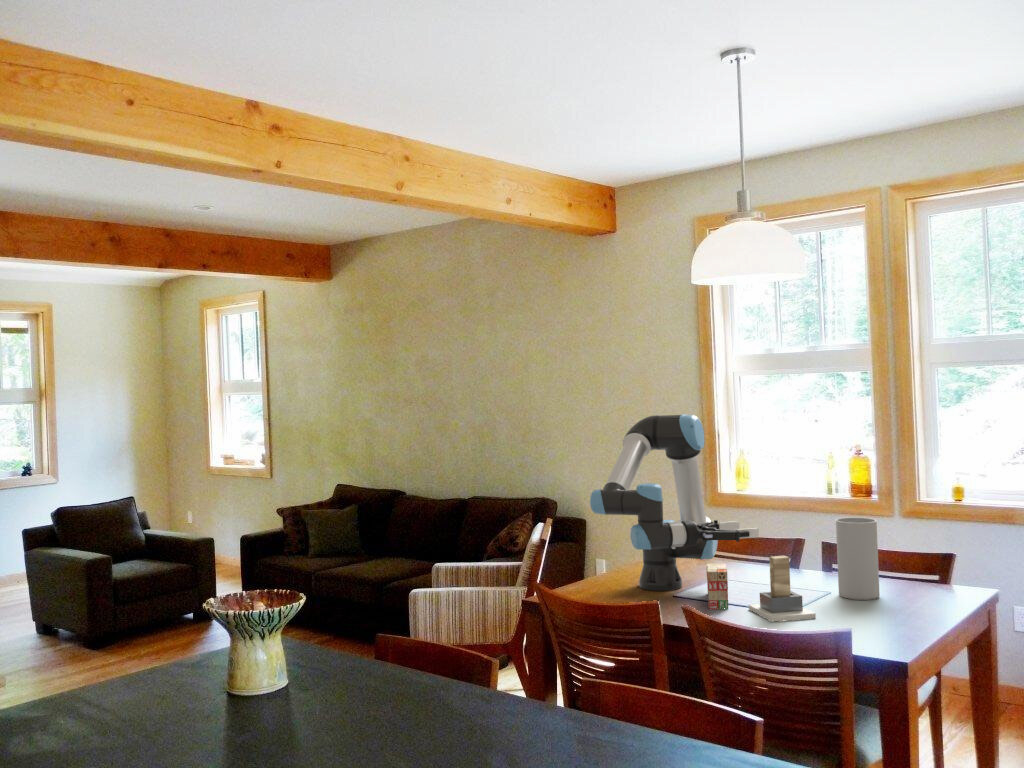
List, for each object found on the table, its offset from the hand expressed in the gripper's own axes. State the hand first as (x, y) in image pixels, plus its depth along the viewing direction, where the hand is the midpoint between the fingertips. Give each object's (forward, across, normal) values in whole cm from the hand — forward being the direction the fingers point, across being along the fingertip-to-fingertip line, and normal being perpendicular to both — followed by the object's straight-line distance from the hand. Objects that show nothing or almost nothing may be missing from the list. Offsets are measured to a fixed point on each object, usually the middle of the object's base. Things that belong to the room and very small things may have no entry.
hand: (748, 528), depth 270 cm
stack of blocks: (-2, -21, -27) cm, 35 cm away
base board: (+10, 0, -27) cm, 28 cm away
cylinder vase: (+44, -13, -28) cm, 53 cm away
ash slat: (+10, 0, -25) cm, 27 cm away
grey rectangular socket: (+10, 0, -25) cm, 27 cm away
